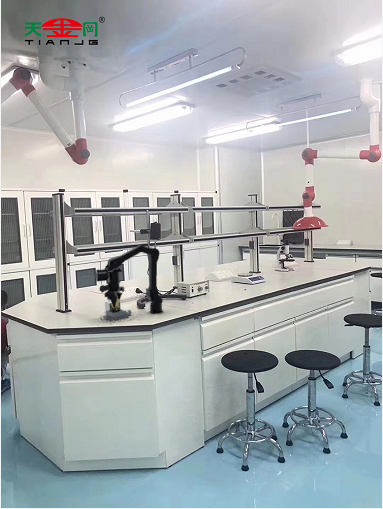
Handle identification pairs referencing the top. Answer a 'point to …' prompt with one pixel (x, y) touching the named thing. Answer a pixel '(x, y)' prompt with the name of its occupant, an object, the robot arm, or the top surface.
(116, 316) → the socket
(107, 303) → the medicine bottle
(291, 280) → the top surface
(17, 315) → the top surface
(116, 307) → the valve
